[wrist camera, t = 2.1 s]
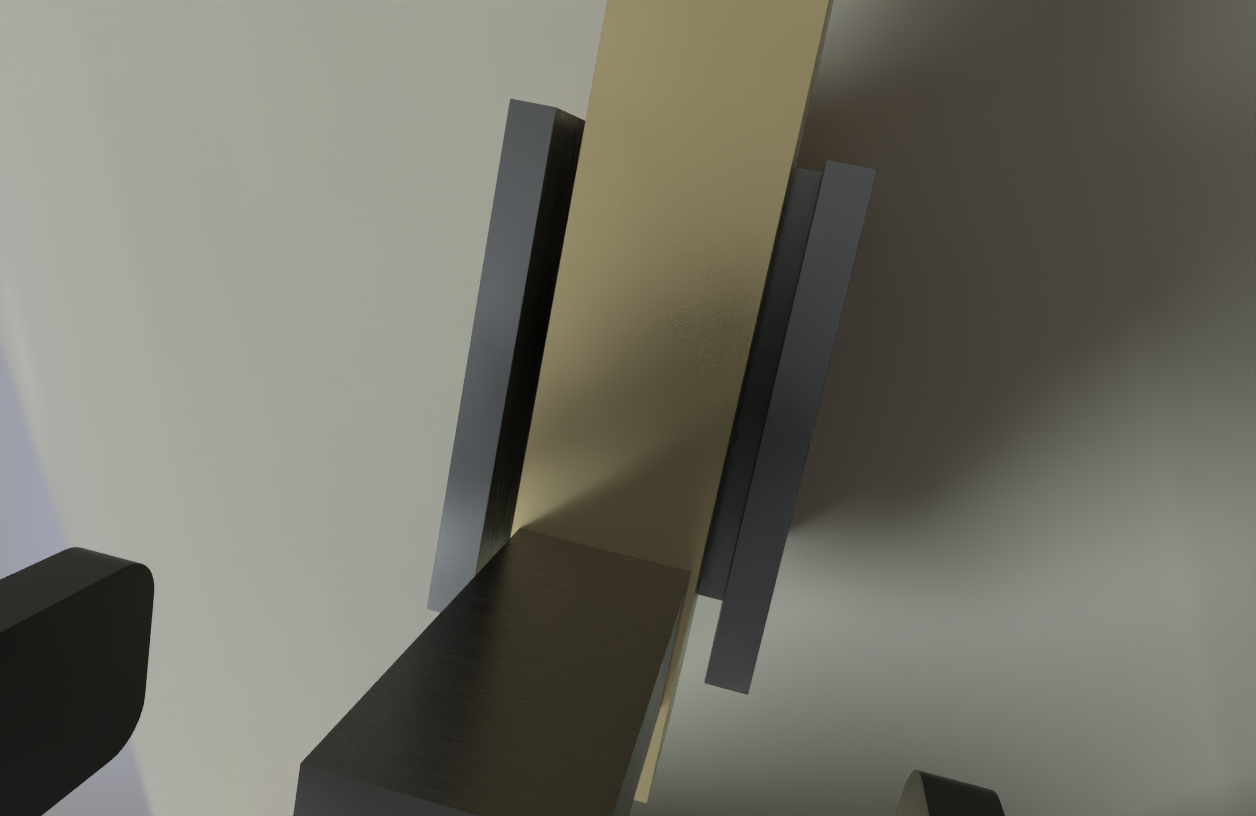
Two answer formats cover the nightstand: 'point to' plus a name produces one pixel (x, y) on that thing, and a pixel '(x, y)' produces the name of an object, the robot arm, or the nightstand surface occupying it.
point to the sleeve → (771, 406)
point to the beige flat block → (607, 440)
